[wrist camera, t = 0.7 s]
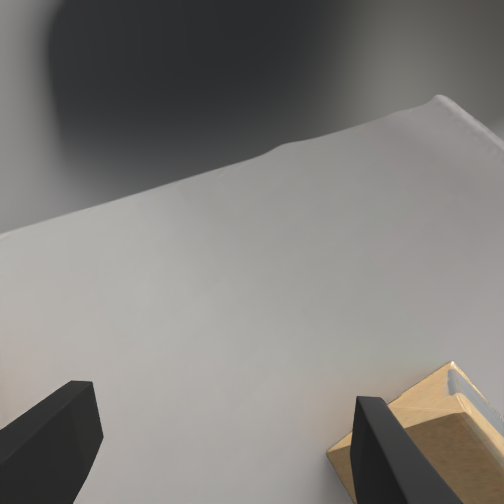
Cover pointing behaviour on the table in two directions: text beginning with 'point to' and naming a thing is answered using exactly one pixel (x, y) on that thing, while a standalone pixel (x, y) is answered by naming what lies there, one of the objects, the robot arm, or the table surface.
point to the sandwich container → (447, 436)
